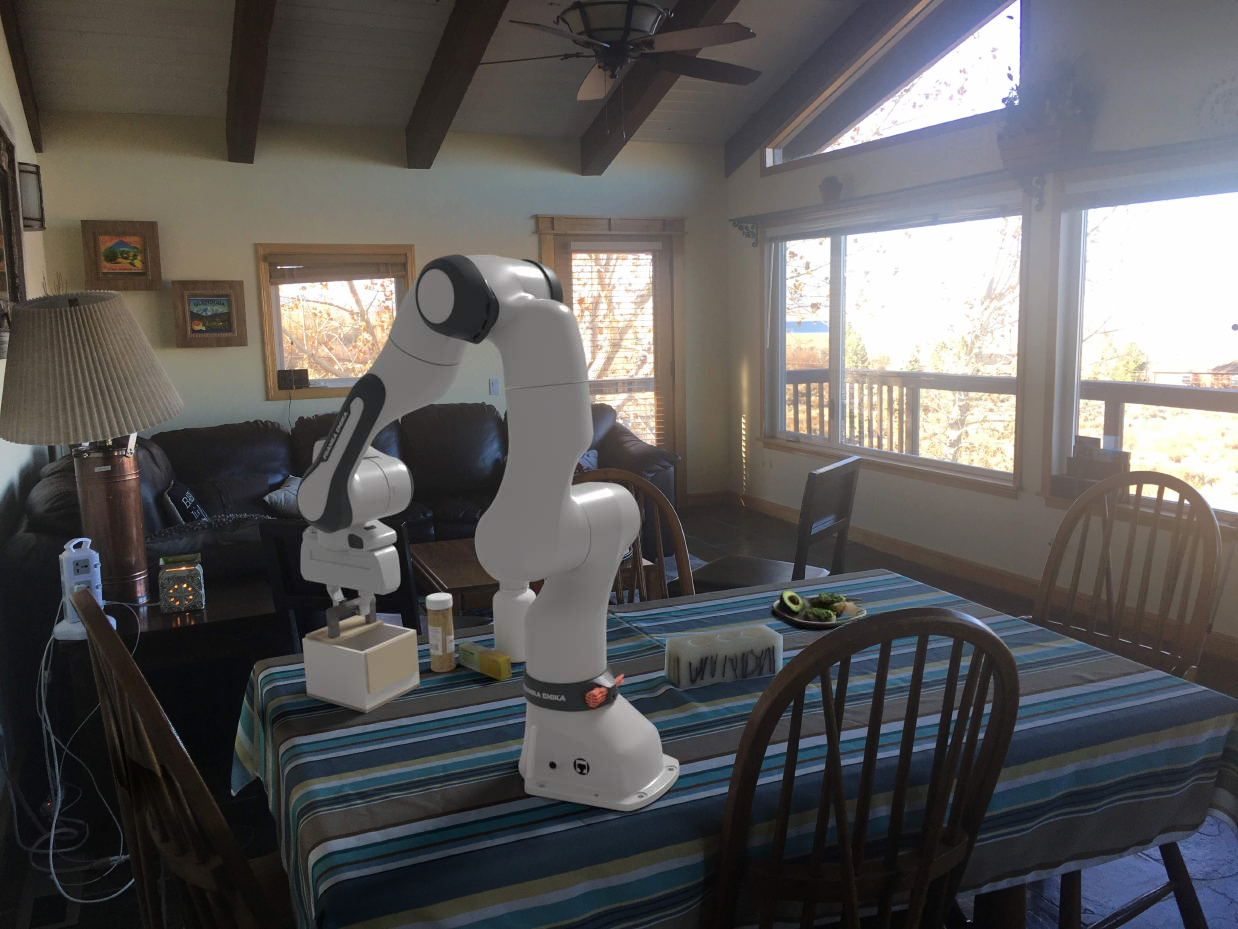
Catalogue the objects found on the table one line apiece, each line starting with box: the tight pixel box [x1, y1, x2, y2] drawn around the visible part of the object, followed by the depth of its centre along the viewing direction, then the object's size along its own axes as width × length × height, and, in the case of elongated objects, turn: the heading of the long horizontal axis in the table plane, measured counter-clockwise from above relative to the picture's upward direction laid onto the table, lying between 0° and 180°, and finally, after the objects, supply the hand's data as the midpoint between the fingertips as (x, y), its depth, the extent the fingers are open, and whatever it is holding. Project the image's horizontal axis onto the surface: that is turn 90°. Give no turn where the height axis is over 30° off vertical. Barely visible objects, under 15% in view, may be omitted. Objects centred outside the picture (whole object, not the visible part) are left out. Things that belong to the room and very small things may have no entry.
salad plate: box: [771, 589, 868, 630], centre depth 189 cm, size 19×18×5 cm
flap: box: [305, 594, 384, 644], centre depth 155 cm, size 7×11×6 cm, turn 148°
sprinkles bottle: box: [425, 592, 457, 673], centre depth 164 cm, size 5×5×13 cm
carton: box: [301, 622, 421, 714], centre depth 155 cm, size 15×12×10 cm
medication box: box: [457, 640, 513, 681], centre depth 163 cm, size 12×3×4 cm, turn 47°
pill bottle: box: [492, 581, 537, 664], centre depth 169 cm, size 8×8×15 cm
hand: (351, 611), depth 154 cm, fingers open, 4 cm apart
